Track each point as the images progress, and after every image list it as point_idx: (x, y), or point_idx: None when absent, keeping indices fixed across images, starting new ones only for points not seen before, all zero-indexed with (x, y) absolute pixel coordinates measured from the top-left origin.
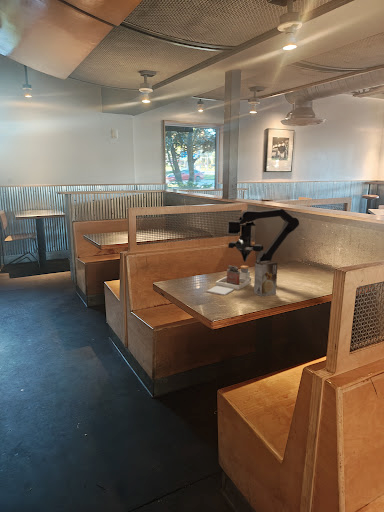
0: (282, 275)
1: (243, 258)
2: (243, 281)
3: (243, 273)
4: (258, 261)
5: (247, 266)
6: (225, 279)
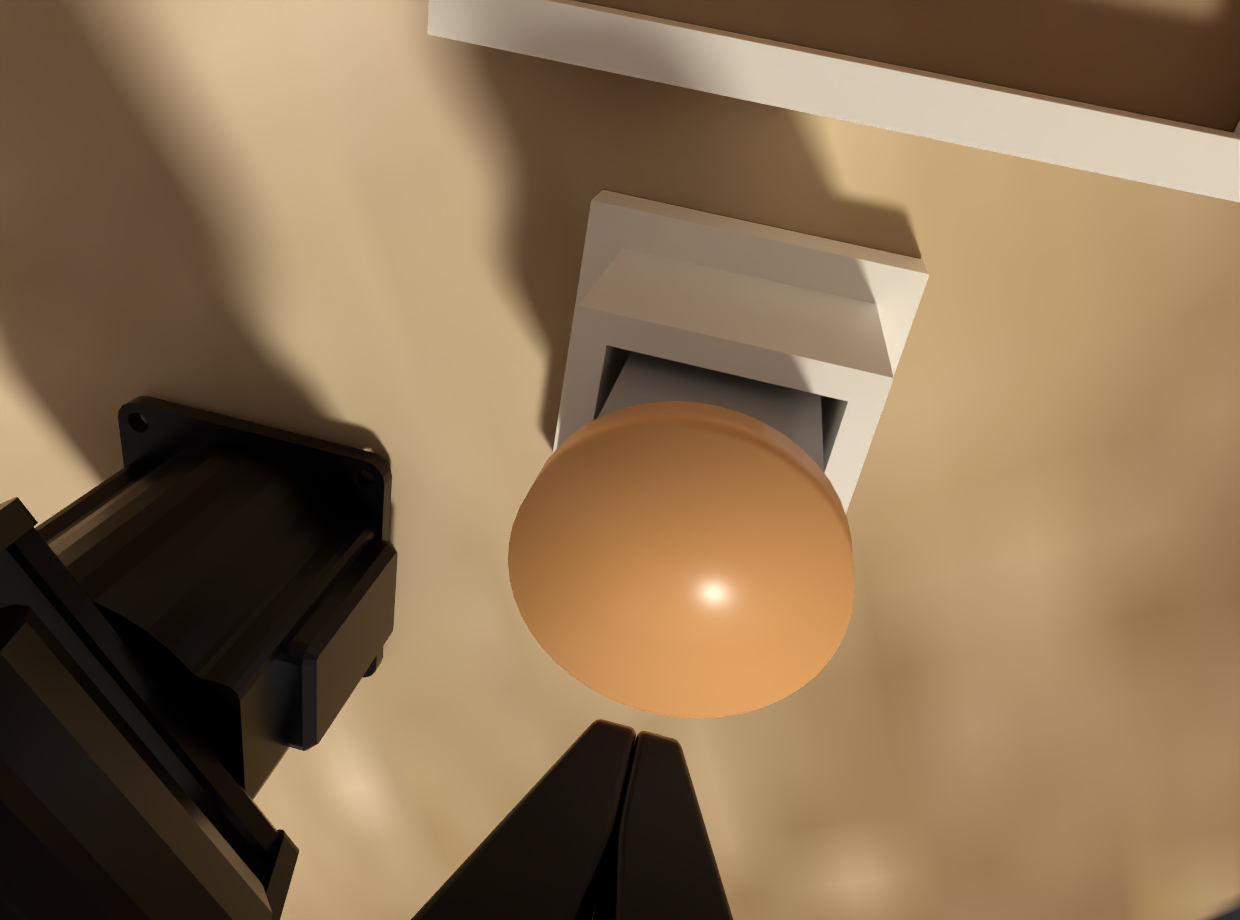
0: None
1: (681, 884)
2: (657, 17)
3: (699, 321)
4: (27, 816)
5: (569, 633)
6: None
